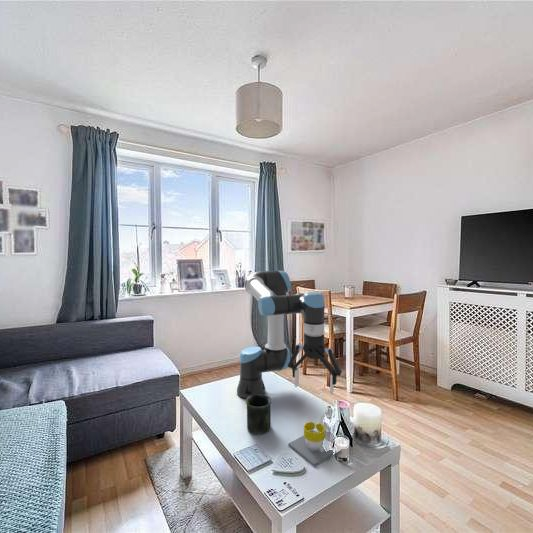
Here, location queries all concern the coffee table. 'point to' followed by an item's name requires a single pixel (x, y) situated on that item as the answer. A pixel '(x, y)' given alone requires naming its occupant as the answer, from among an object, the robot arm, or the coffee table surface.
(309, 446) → the plate
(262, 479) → the coffee table surface
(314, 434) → the bracelet
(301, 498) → the coffee table surface
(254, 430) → the mug
